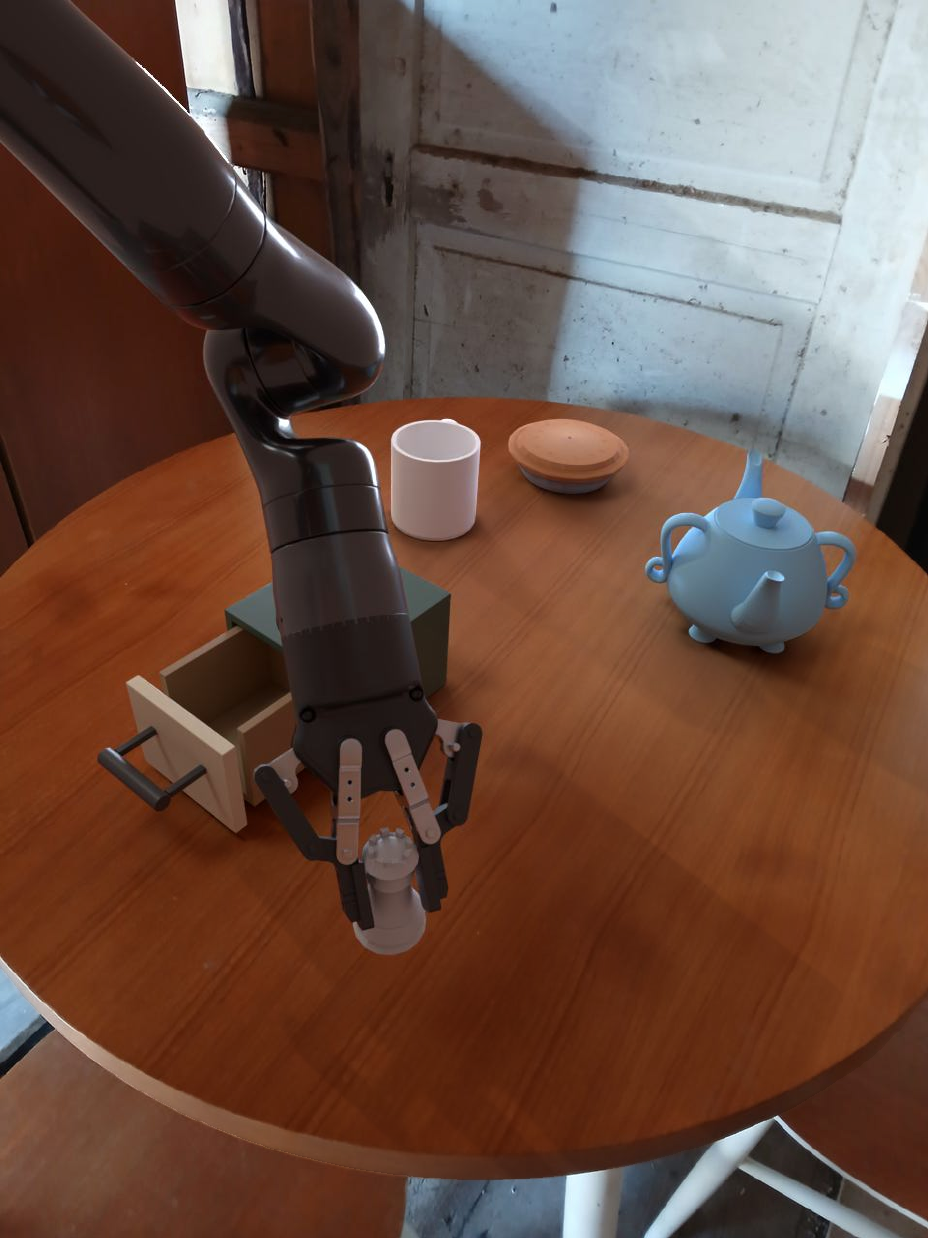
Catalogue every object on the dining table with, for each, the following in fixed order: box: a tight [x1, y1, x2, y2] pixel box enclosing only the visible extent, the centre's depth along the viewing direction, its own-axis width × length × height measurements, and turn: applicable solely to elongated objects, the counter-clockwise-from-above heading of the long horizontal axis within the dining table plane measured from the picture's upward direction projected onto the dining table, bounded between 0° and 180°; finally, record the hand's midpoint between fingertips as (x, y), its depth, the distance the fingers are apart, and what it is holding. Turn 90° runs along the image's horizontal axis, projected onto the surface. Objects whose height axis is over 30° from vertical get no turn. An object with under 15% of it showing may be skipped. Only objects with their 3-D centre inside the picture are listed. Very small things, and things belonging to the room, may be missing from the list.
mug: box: [390, 418, 481, 542], centre depth 105 cm, size 13×10×10 cm
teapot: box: [644, 448, 857, 654], centre depth 91 cm, size 16×20×14 cm
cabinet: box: [223, 565, 452, 699], centre depth 80 cm, size 15×13×11 cm
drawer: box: [96, 625, 306, 834], centre depth 72 cm, size 18×11×9 cm, turn 141°
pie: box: [507, 418, 630, 495], centre depth 116 cm, size 15×16×5 cm
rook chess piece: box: [352, 826, 427, 956], centre depth 53 cm, size 4×4×8 cm
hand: (399, 916), depth 51 cm, fingers closed on rook chess piece, 3 cm apart
